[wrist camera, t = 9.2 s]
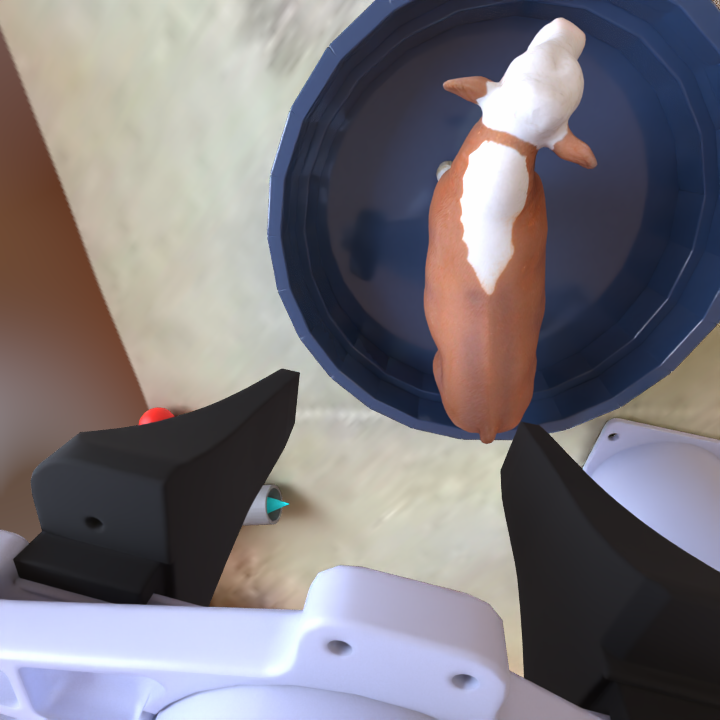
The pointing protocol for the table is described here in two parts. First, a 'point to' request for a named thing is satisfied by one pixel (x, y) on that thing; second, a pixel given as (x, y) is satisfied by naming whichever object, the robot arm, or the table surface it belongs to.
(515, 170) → the bull figurine
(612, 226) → the bowl
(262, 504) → the toy gun
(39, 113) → the table surface
